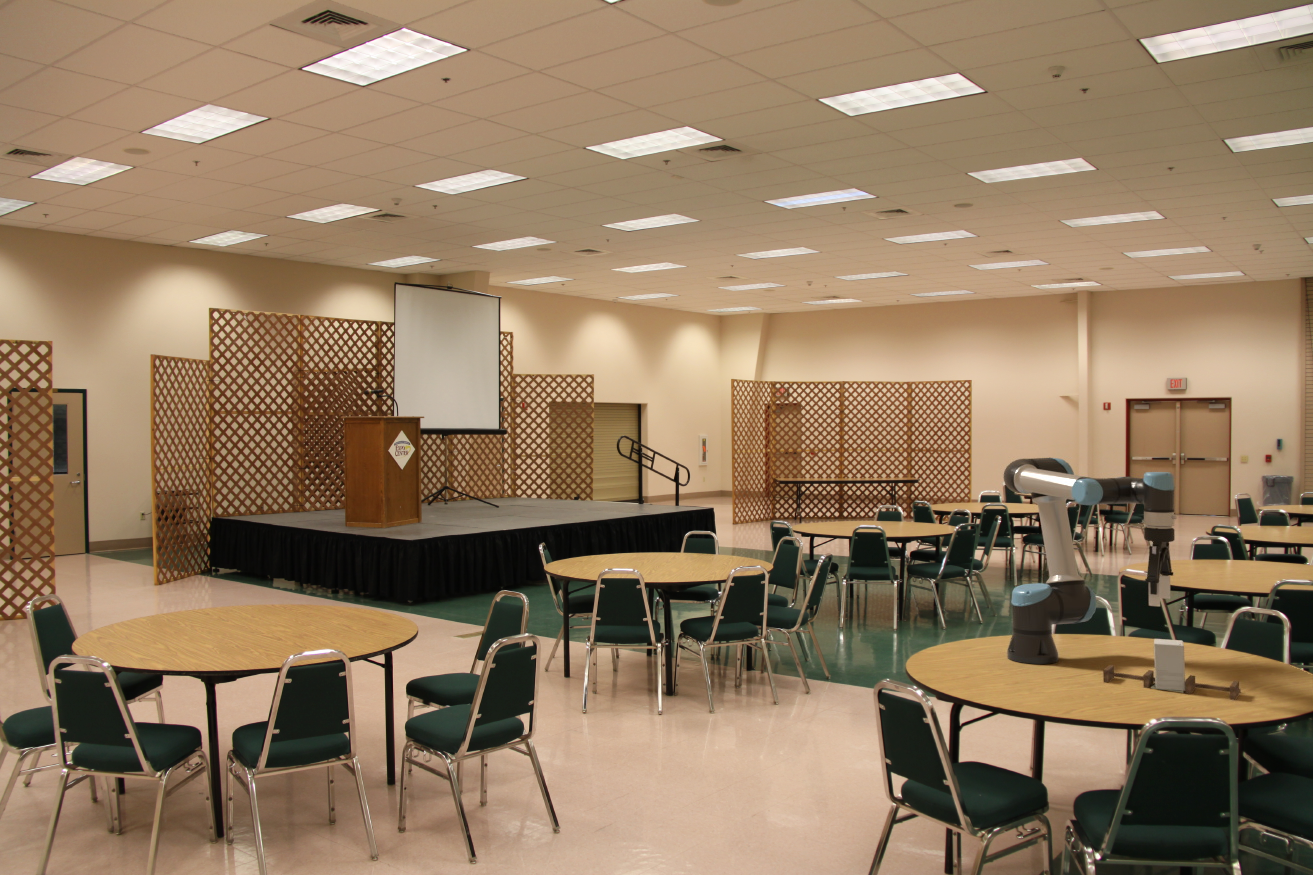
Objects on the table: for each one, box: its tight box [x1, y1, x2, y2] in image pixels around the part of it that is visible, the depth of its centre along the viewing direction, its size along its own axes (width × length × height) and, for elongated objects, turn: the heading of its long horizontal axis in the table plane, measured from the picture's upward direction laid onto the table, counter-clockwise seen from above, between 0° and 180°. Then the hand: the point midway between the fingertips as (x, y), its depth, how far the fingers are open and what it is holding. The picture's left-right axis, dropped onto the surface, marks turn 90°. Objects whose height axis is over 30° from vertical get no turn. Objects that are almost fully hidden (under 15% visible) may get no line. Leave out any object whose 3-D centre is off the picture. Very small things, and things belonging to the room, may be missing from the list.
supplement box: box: [1153, 638, 1186, 692], centre depth 259 cm, size 7×7×13 cm
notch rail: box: [1102, 664, 1242, 701], centre depth 260 cm, size 32×10×4 cm, turn 51°
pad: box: [1150, 682, 1186, 694], centre depth 259 cm, size 8×6×1 cm
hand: (1159, 602), depth 262 cm, fingers open, 13 cm apart
